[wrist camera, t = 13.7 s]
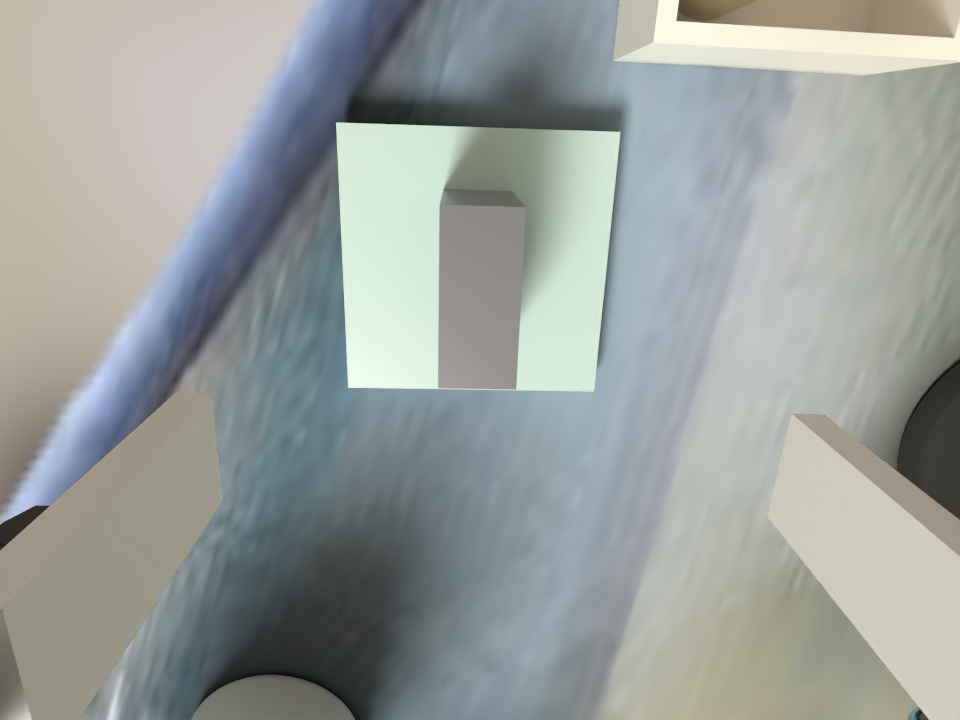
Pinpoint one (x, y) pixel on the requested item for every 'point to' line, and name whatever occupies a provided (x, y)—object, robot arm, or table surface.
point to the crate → (790, 34)
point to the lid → (474, 255)
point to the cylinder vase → (272, 701)
